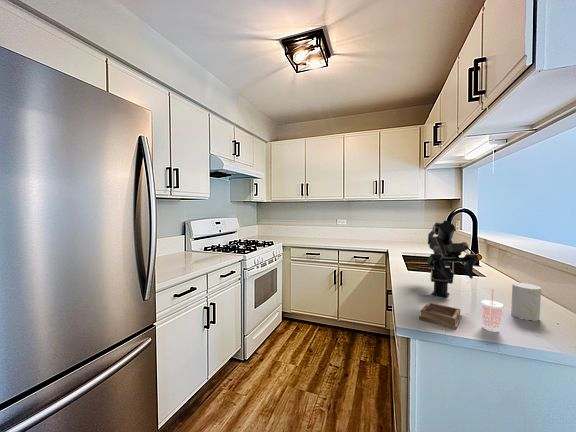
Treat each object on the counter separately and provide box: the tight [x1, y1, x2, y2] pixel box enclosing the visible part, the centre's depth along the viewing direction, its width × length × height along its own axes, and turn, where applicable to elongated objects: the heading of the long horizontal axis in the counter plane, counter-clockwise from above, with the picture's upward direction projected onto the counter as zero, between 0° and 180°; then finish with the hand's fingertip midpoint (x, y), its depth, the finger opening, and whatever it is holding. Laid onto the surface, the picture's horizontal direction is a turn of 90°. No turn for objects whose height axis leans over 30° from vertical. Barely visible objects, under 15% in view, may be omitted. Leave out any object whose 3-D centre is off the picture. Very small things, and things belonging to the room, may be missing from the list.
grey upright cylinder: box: [510, 282, 542, 322], centre depth 101 cm, size 8×8×12 cm
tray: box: [418, 301, 463, 330], centre depth 99 cm, size 12×12×4 cm
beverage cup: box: [480, 288, 504, 333], centre depth 92 cm, size 6×6×14 cm
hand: (459, 278), depth 107 cm, fingers open, 9 cm apart
